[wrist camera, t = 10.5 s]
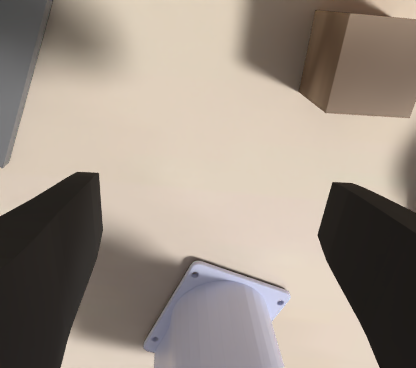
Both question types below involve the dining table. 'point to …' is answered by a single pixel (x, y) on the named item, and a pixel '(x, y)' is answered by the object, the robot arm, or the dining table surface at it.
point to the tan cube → (361, 64)
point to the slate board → (18, 62)
